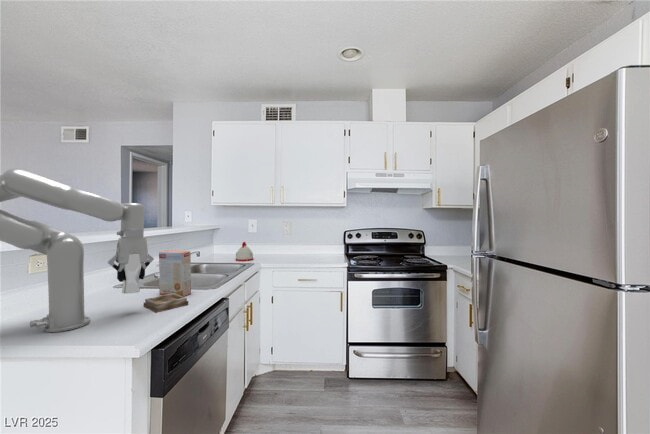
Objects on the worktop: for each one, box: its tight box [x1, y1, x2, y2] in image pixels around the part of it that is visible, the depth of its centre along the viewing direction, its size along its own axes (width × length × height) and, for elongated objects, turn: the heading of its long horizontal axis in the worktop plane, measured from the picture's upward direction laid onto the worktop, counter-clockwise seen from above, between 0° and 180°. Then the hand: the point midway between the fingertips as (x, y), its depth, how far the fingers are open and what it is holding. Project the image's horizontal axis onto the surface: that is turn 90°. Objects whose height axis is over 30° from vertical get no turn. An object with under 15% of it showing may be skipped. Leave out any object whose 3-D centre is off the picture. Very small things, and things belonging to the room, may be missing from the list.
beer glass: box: [121, 254, 142, 294], centre depth 119 cm, size 7×7×15 cm
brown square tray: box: [143, 293, 189, 314], centre depth 129 cm, size 13×13×3 cm
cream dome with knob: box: [235, 241, 254, 262], centre depth 249 cm, size 14×14×15 cm
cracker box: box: [158, 250, 192, 297], centre depth 146 cm, size 14×6×21 cm, turn 72°
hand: (131, 279), depth 119 cm, fingers closed on beer glass, 6 cm apart
